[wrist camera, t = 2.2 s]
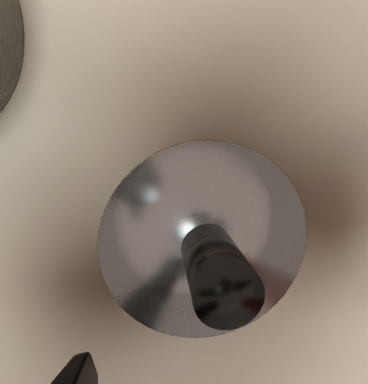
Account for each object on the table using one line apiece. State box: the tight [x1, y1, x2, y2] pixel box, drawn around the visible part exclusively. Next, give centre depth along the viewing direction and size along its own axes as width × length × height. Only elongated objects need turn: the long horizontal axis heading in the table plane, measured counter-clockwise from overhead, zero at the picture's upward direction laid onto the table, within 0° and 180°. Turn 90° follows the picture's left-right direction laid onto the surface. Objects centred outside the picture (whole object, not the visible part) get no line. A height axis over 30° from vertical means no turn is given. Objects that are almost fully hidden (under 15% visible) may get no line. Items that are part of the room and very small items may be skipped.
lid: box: [97, 140, 306, 338], centre depth 11 cm, size 11×11×5 cm
